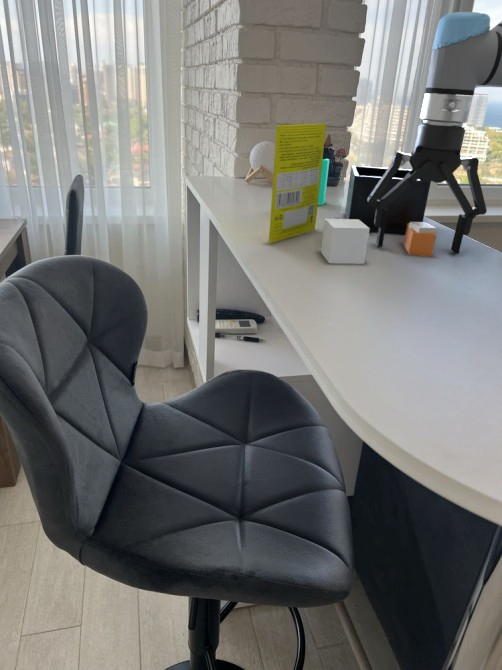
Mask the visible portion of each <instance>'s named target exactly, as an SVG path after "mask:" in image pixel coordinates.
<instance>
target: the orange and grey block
mask: <svg viewBox="0 0 502 670" xmlns="http://www.w3.org/2000/svg"><path fill="white" fill-rule="evenodd" d="M437 231H438V228H437V227H436V226H434V225H432V224H431V223H429V222H427V221H423V222H410V223H407V228H406V233H405V235H404V238H403V246H404V248H405V250H406V252H407V254H408V255H409V256H419V257H429V258H431V257H433V252H434V248H435V243H436V238H437Z"/></svg>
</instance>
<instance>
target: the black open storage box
mask: <svg viewBox="0 0 502 670" xmlns="http://www.w3.org/2000/svg"><path fill="white" fill-rule="evenodd" d="M388 168H389V167H377V166H376V167H374V166H361V165H359V166H358V165H351V166H350V173H349V181H348V187H347V188H348V189H347V196H346V204H345V211H344V216H345V217H344V218H345V219H359V220H360V221H361V222H362V223H364V224H365V225H366V226H367V227H369V228H370V230H369V233H377V234H378V231H379V227H375V225H374V220H375V213H376V208H375V207H373V206H371V205H369V204H368V201H367V199H368V197H369V196H370V194H371V193H372V191H373V190H374V188H375V187H376V185H377V184H378V182H379V181H380V179H381V178H382V176H383V175H384V174H385V172H386V171H387V169H388ZM411 170H412V169H406V168H405V169H404V168H399V169H398V171H397V172H396V174H395V175H394V177H393V178H392V180H391V181H390V183H389V184H388V185H387V187H386V188H385V190H384V191H383V193H382V194H381V196H380V197H379V198H378V200H380V199H381V198H382V197H384V196H385V195H386V194H387V193H388V192H389V191H390V190H391V189H392V188H393V187H394V186H396V185H397V184H398V183H399V182H400V181H401V180H402V179H403V178H404V177H405V176H406V175H407V174H408V173H409V172H410V171H411ZM431 184H432V181H430V182H422V181H421V180H419V179H417V180H416V181H415V182H414V183H412V184H411V185H410V186H409V187H408V188H407V189H405V190H404V191H403V192H402V193H401V194H400V195H399V196H398V197H397V198H396V199H394V200H393V201H392V202H391V203H390V204H389V205H388V206H387V207H386V208H387V210H388V216H387V222H386V228H385V233H384V234H391V235H403V236H405V233H406V228H407V223H410V222H424V218H425V212H426V209H427V202H428V199H429V193H430V188H431Z"/></svg>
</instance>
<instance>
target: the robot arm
mask: <svg viewBox="0 0 502 670" xmlns="http://www.w3.org/2000/svg"><path fill="white" fill-rule="evenodd" d="M433 39H434V40H433V44H432V47H431V56H430V61H429V68H428V73H427V79H426V86H425V90H424V96H423V99H422V105H421V110H420V115H419V119H420V120H421V122H422V123H419V125H417V130H416V136H415V142H414V147H413V150H412V152H411V153H405V152H401V151H400V150H395V152H394V153H393V155H392V160H391V164H390V165H389V166H388V167H387V168H388V169H387V171H386V172H385V174H384V175H383V176H382V178H381V179H380V181H379V182H378V184H377V185H376V187H375V188H374V190H373V191H372V193H371V194H370V196H369V197H368V199H367V201H368V204H369V205H371V206H373V207H375V208H376V213H375V220H374V225H375V227H379V231H378V233H377V238H376V245H377V248H383V244H384V239H385V234H386V233H385V228H386V222H387V216H388V210H387V208H386V207H387V206H388V205H389V204H390V203H391V202H392V201H393V200H394V199H396V198H397V197H398V196H399V195H400V194H401V193H402V192H403V191H404V190H405V189H407V188H408V187H409V186H410V185H411V184H412V183H414V182H415V181H416V180H417V179H419V180H421V181H422V182H430V181H431V182H433V183H436V184H441V183H444V182H445V183H446V184H447V185H448V187H449V189H450V191H451V192H452V194H453V196H454V197H455V199H456V201H457V202H458V204H459V207H460V208H461V210H462V211H463V213H464V214H463V213H462V214H461V213H459V214H458V218H457V223H456V227H455V231H454V235H453V239H452V244H451V247H450V250H451V251H452V253H453V254H455V255H459V254H460V249H461V245H462V242H463V238H464V236H468V235H469V234H470V232H471V228H472V224H473V220H474V219H475V218H476V217H477V216H480V215H481V216H483V215H486V213H487V210H488V209H487V206H486V202H485V197H484V193H483V189H482V185H481V181H480V177H479V172H478V170H479V163H480V161H479V158H478V157H475V156H473V155H471V156H468V157H461V152H462V148H463V143H464V139H465V135H466V127H465V126H464V124H466V123H467V122H468V121H469V116H470V112H471V111H470V110H471V106H472V102H473V96H474V95H475V90H476V89H477V88H502V20H501V21H500V22H498V24H496V25H495V26H494V27H492V28H491V17H490V15H488V14H487V13H481V12H478V11H477V12H475V11H474V12H473V11H457V12H449V13H446V14H444V15H443V16H442V17H441V18H440V19H439V21H438V25H437V28H436V32H435V36H434V38H433ZM407 162H409V164H410V166H411V168H412V169H410V170H411V171H410V172H409V173H408V174H407V175H406V176H405V177H404V178H403V179H402V180H401V181H400V182H399V183H398V184H397V185H396V186H394V187H393V188H392V189H391V190H390V191H389V192H388V193H387V194H386V195H385V196H384V197H382V198H381V199H380V200H378V198H379V197H380V196H381V194H382V193H383V191H384V190H385V188H386V187H387V185H388V184H389V183H390V181H391V180H392V178H393V177H394V175H395V174H396V172H397V171H398V169H400V167H403V166H405V164H406V163H407ZM460 166H462V169H463V170H464V171H465V172H466V177H467V180H468V185H469V189H470V192H471V196H472V200H473V205H474V206H472V205H471V203H470V202H469V200H468V198H467V196H466V194H465V193H464V191H463V189H462V187H461V186H460V184H459V181H458V180H457V178H456V176H455V175H454V173H455V172H456V171H457V170H458V169H459V168H460Z"/></svg>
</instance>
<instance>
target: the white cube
mask: <svg viewBox="0 0 502 670" xmlns="http://www.w3.org/2000/svg"><path fill="white" fill-rule="evenodd" d="M369 230H370V228H369V227H367V226H366V225H365V224H364V223H362V222H361V221H360V220H359V219H346V218H324V222H323V232H322V240H321V249H320V253H321V255H322V256H323V257H324V258H325V260H326V261H327V263H328V264H338V265H339V264H340V265H341V264H342V265H343V264H344V265H345V264H346V265H347V264H348V265H349V264H350V265H365V261H366V255H367V248H368V241H369V236H370V232H369Z"/></svg>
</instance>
